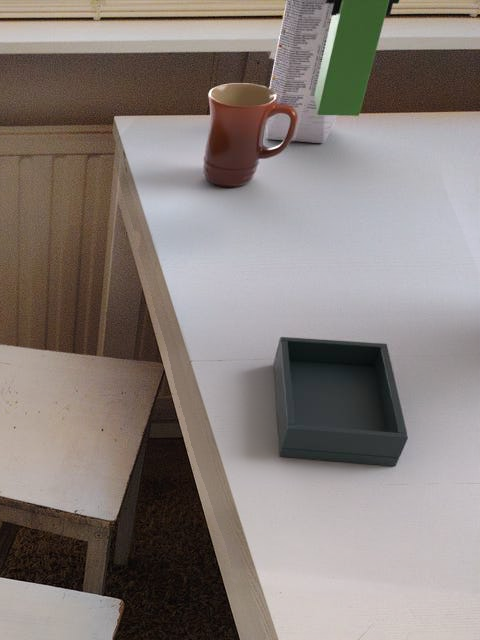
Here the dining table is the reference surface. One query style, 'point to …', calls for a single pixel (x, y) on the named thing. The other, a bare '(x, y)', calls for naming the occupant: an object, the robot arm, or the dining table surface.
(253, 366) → the dining table surface
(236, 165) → the mug
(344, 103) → the green drink carton
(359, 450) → the dark grey tray
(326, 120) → the juice carton
